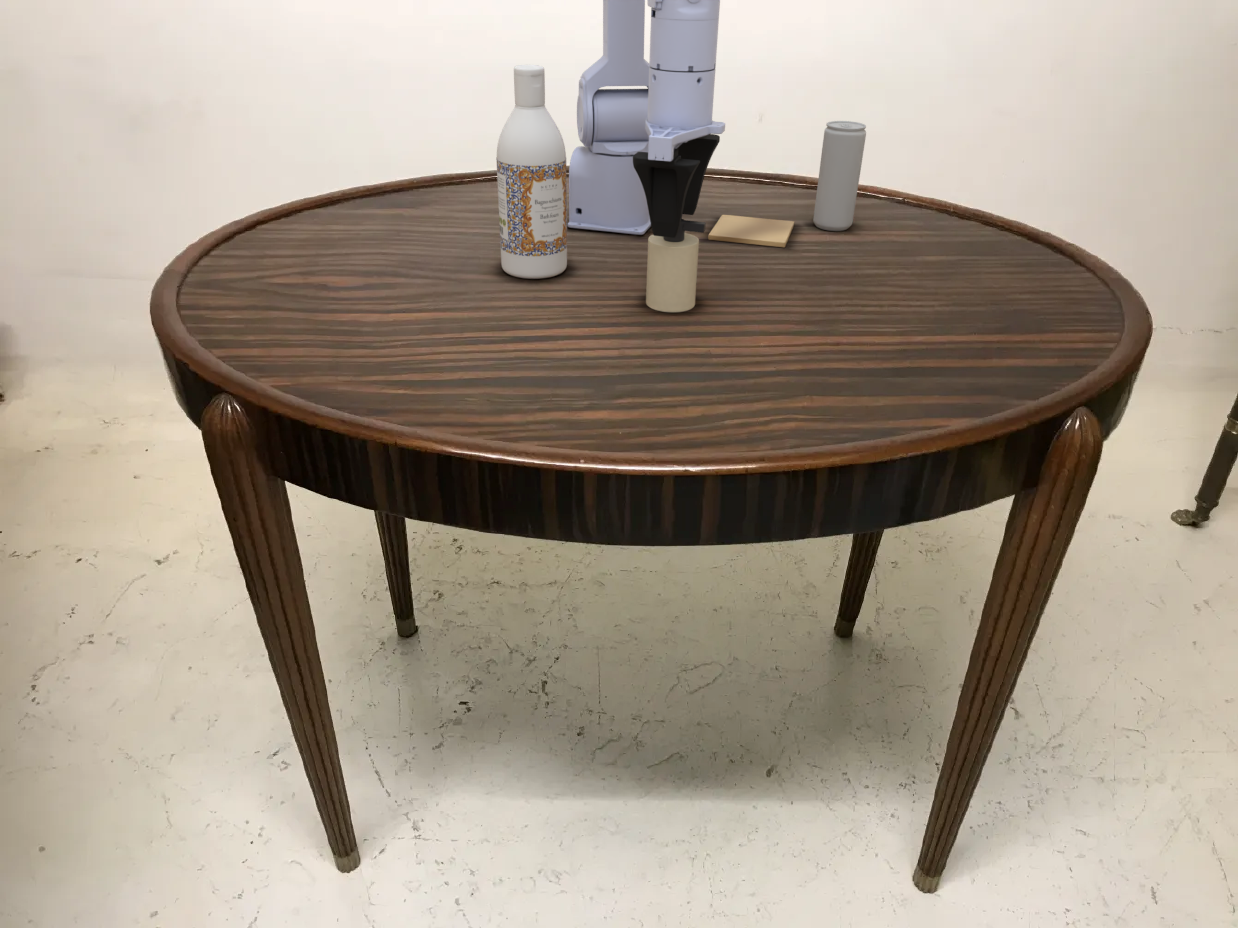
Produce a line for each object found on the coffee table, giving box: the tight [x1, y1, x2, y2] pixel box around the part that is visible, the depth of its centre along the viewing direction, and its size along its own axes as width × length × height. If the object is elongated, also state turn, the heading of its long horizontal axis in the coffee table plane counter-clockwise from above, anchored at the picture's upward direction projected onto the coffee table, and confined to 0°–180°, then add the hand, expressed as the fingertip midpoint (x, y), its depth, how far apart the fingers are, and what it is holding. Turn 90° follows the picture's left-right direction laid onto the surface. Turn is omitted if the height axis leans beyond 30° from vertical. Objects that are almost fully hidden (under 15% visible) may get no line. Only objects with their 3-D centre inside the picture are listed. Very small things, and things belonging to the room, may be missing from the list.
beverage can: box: [812, 120, 867, 232], centre depth 112 cm, size 5×5×12 cm
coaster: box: [707, 214, 795, 248], centre depth 112 cm, size 9×9×1 cm
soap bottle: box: [645, 218, 707, 313], centre depth 89 cm, size 5×5×8 cm
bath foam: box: [495, 64, 568, 280], centre depth 94 cm, size 7×7×20 cm
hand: (674, 224), depth 87 cm, fingers open, 7 cm apart
